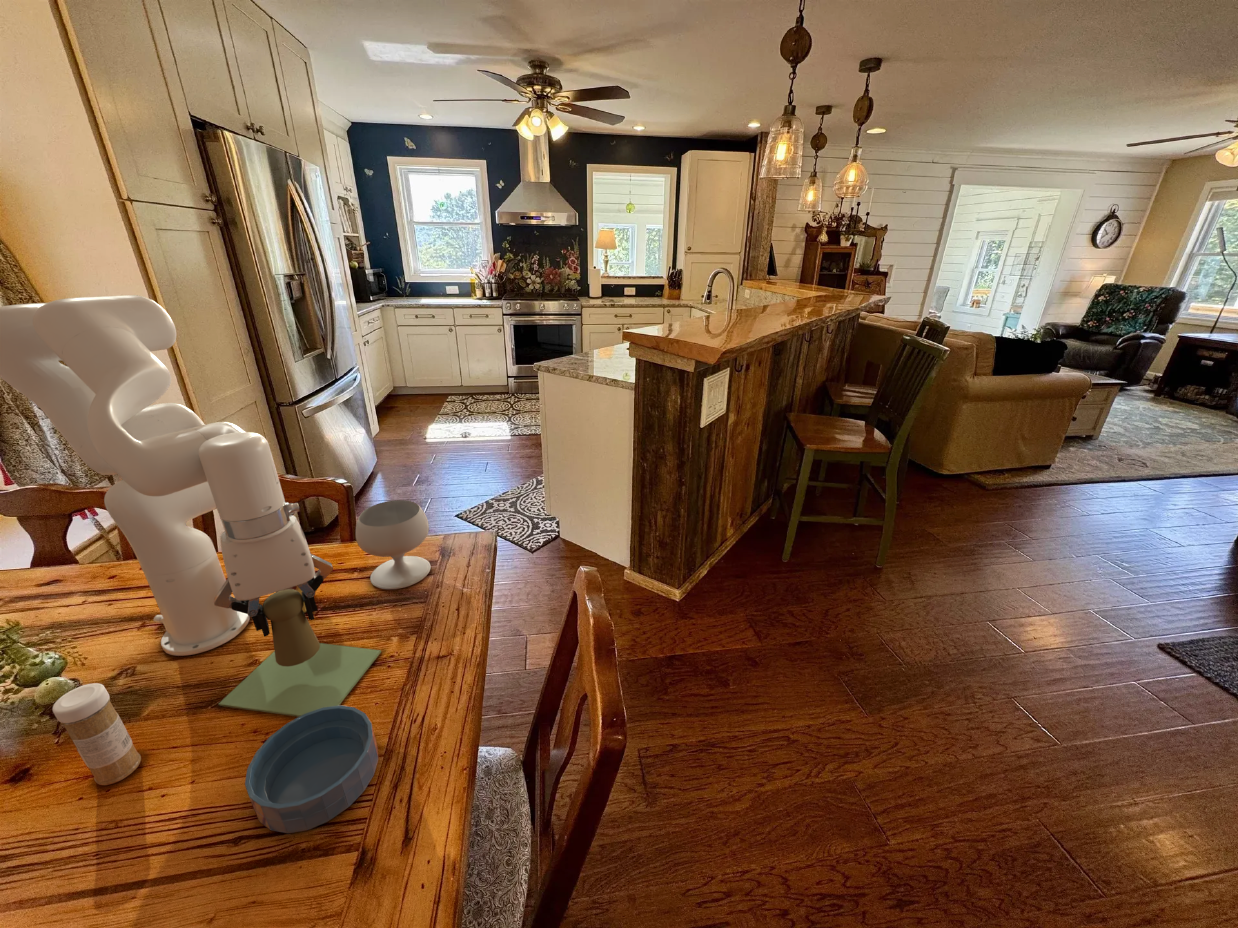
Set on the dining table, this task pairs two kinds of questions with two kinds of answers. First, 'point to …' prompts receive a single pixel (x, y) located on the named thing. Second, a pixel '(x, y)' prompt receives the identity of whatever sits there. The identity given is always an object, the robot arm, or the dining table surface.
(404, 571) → the chalice
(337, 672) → the mat
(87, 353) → the robot arm
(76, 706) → the sprinkles bottle
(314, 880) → the dining table surface
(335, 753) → the bowl
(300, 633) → the cork
